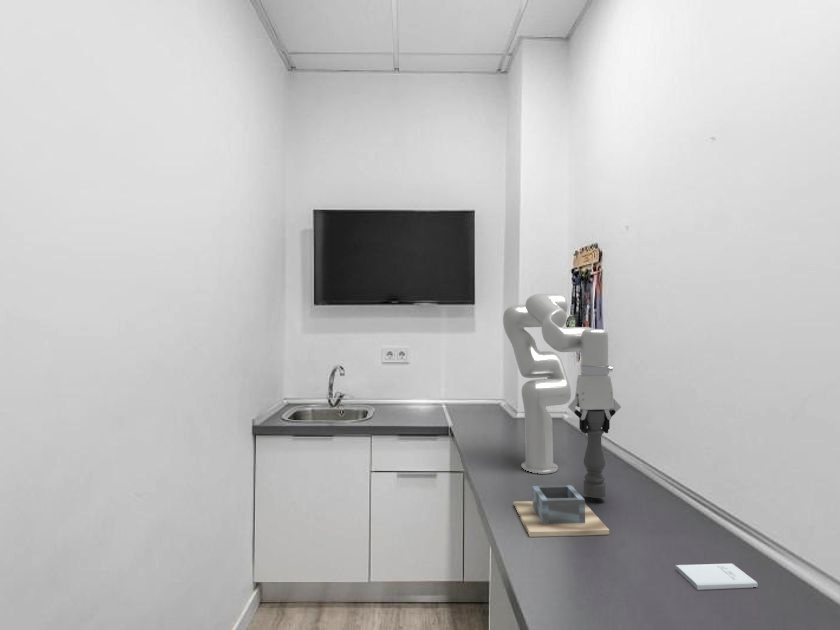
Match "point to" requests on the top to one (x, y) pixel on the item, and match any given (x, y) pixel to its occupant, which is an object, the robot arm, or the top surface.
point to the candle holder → (594, 455)
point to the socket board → (558, 513)
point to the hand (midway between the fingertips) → (594, 431)
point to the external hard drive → (715, 576)
